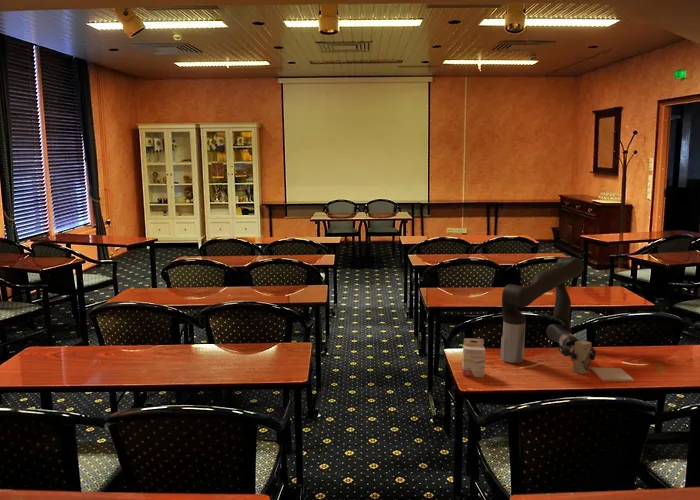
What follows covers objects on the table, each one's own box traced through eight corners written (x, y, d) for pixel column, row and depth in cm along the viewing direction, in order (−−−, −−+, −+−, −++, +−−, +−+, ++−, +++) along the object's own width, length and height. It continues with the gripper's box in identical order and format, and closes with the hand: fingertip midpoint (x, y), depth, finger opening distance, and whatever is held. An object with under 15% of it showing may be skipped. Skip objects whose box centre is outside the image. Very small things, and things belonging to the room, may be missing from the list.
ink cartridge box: (463, 376, 225) (464, 341, 222) (461, 371, 230) (462, 337, 227) (484, 377, 224) (486, 342, 222) (482, 372, 229) (484, 338, 226)
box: (581, 374, 226) (583, 344, 224) (572, 371, 230) (574, 341, 228) (590, 372, 229) (592, 342, 226) (581, 369, 232) (583, 339, 230)
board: (602, 380, 220) (602, 378, 220) (590, 369, 232) (591, 367, 232) (633, 381, 219) (633, 379, 219) (620, 369, 231) (620, 368, 231)
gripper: (554, 335, 242) (567, 348, 226) (588, 336, 241) (603, 349, 225) (553, 352, 243) (565, 366, 227) (586, 352, 242) (601, 366, 226)
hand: (584, 357), depth 226 cm, fingers closed on box, 6 cm apart
